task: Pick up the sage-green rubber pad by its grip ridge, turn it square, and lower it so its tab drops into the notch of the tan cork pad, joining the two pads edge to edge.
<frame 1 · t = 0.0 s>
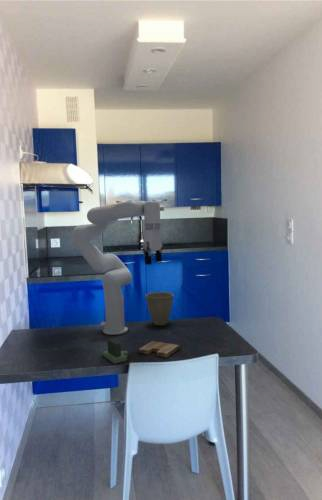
hand: (153, 262, 215), 37 cm above the table, tool pointing down, fingers open, 9 cm apart
green pad: (114, 358, 193), on the table
cork pad: (159, 350, 200), on the table
plant pot: (160, 324, 243), on the table
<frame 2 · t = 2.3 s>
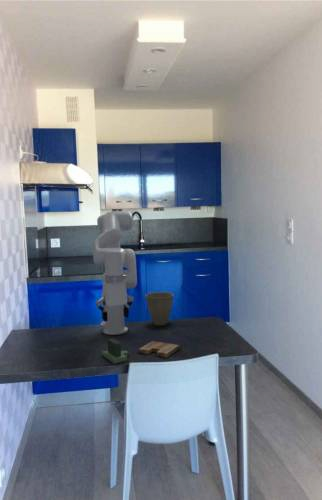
hand: (115, 318, 192), 17 cm above the table, tool pointing down, fingers open, 9 cm apart
nothing on the table moved.
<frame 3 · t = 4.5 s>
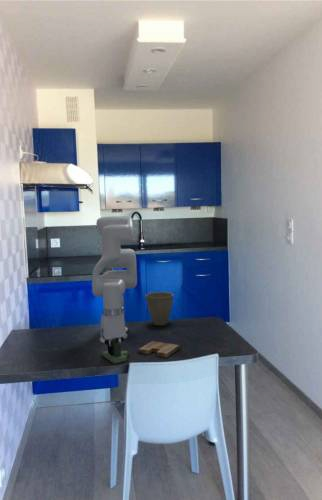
hand: (114, 353, 192), 2 cm above the table, tool pointing down, fingers closed on green pad, 2 cm apart
green pad: (114, 358, 193), on the table, touching gripper
everything else where it was.
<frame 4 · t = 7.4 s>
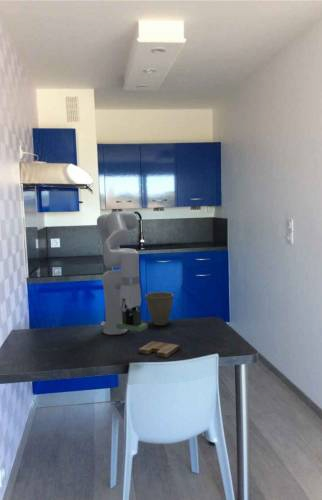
hand: (131, 323, 191), 15 cm above the table, tool pointing down, fingers closed on green pad, 2 cm apart
green pad: (132, 327, 191), point 13 cm above the table, touching gripper
everything else where it was.
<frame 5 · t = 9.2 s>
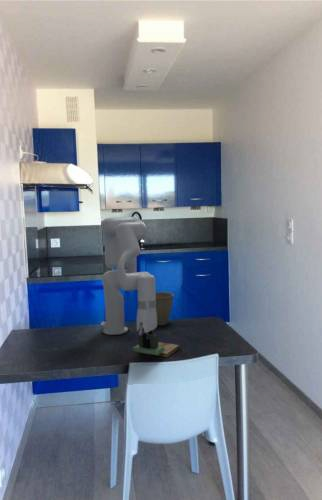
hand: (148, 346, 191), 5 cm above the table, tool pointing down, fingers closed on green pad, 2 cm apart
green pad: (148, 351, 192), point 3 cm above the table, touching gripper
everything else where it was.
when the fingers open (2 cm above the table, at t = 10.3 s): green pad stays where it is, on the table.
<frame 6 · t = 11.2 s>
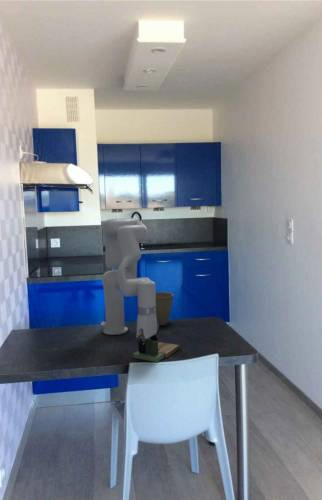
hand: (148, 349, 192), 4 cm above the table, tool pointing down, fingers open, 9 cm apart
green pad: (148, 357, 192), on the table
everything else where it was.
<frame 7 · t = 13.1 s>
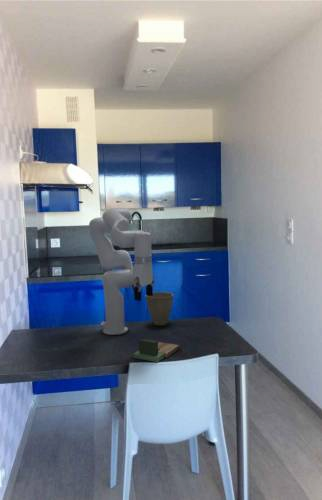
hand: (143, 297, 201), 23 cm above the table, tool pointing down, fingers open, 9 cm apart
nothing on the table moved.
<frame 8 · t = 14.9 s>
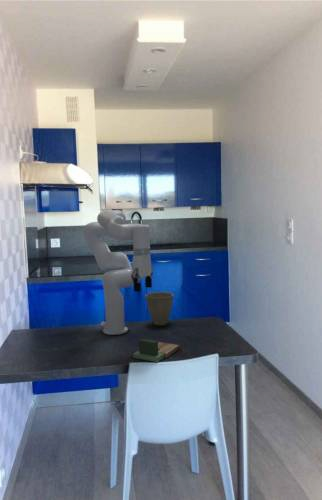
hand: (143, 289, 205), 26 cm above the table, tool pointing down, fingers open, 9 cm apart
nothing on the table moved.
at the end: green pad 0.2 cm from the target spot on the table beside the cork pad, on the table; green pad tilted 0°; the gripper is holding nothing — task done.
